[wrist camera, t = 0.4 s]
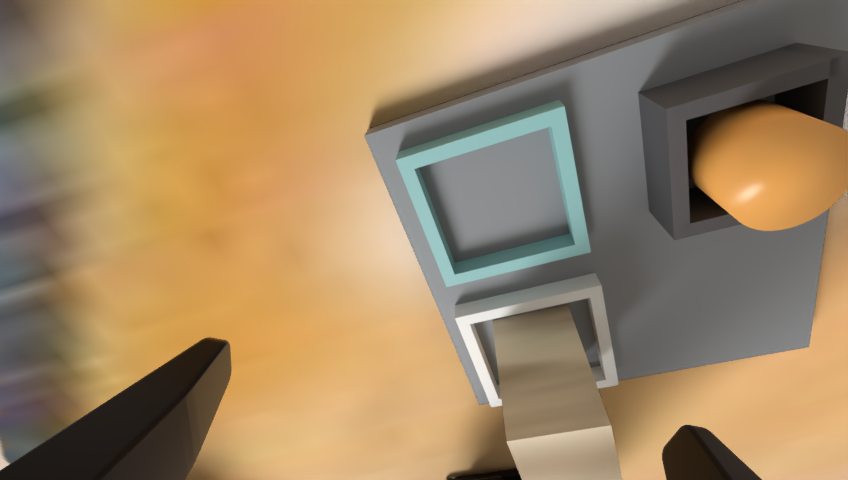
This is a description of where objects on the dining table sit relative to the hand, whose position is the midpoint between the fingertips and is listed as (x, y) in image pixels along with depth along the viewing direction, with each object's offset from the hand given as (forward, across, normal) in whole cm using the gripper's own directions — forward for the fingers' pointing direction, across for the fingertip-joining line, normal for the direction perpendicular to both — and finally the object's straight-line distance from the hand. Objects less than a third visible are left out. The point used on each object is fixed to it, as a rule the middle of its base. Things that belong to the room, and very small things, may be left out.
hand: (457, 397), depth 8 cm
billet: (+12, -7, +9) cm, 16 cm away
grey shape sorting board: (+13, -8, +2) cm, 16 cm away
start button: (+10, -10, -4) cm, 15 cm away
